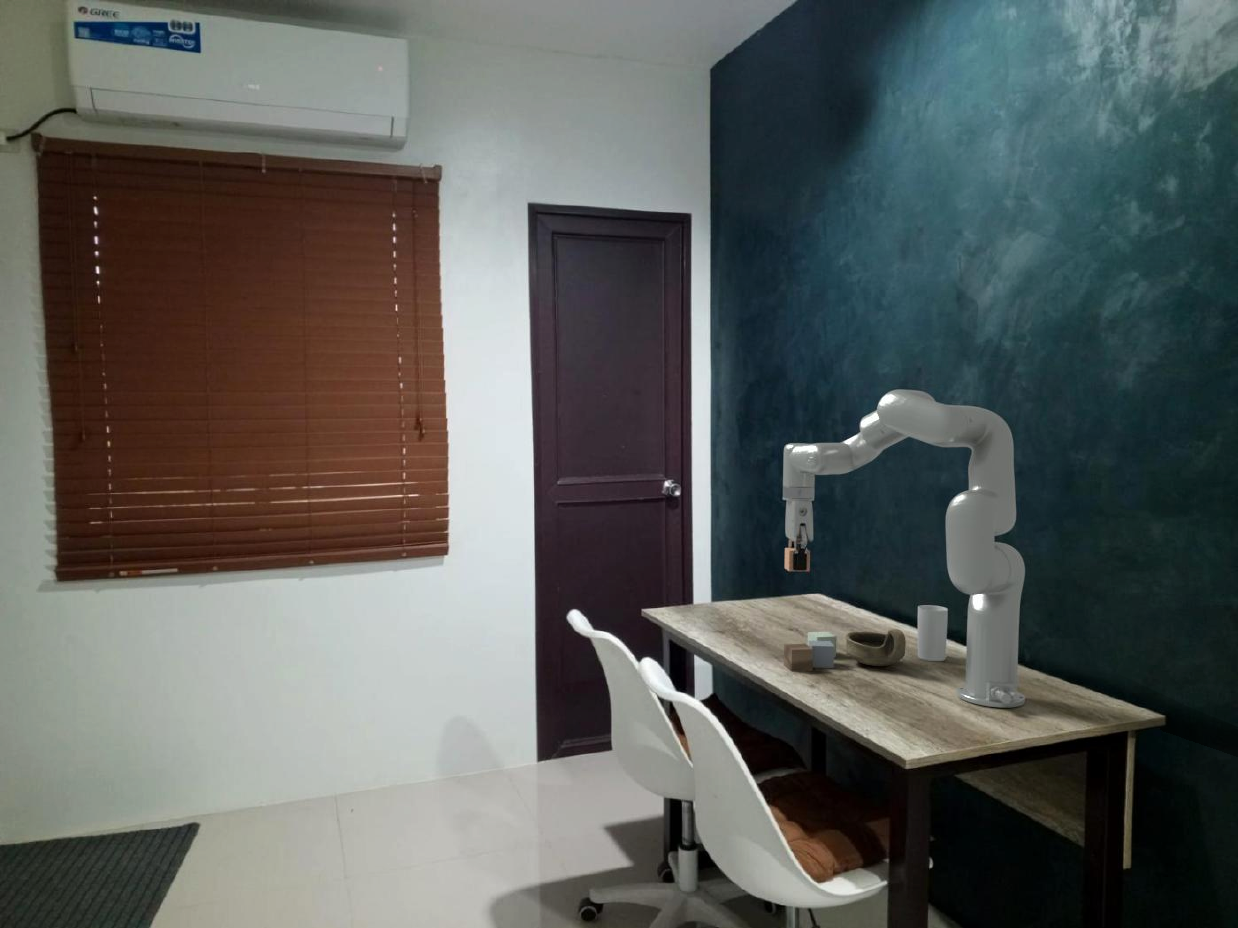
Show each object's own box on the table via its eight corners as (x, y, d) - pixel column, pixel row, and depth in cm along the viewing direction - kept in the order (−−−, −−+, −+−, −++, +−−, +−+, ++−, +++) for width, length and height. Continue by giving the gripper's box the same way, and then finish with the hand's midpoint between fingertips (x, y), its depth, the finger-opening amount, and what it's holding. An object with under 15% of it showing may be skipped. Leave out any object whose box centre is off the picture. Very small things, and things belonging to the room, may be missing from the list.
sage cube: (836, 656, 206) (836, 636, 206) (816, 657, 205) (817, 637, 205) (826, 651, 211) (826, 631, 211) (807, 652, 210) (807, 632, 210)
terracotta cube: (809, 571, 209) (810, 550, 208) (788, 571, 208) (789, 550, 208) (804, 568, 214) (805, 548, 213) (784, 567, 213) (784, 547, 213)
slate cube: (833, 668, 196) (834, 646, 196) (811, 667, 197) (811, 645, 196) (830, 662, 201) (830, 641, 201) (808, 661, 202) (808, 640, 201)
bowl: (883, 654, 208) (885, 613, 208) (927, 674, 191) (928, 630, 191) (832, 657, 205) (833, 616, 205) (872, 678, 188) (873, 633, 188)
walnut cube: (812, 670, 194) (813, 648, 193) (791, 671, 193) (791, 649, 193) (804, 664, 199) (804, 643, 198) (783, 665, 198) (784, 643, 198)
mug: (951, 661, 203) (953, 610, 203) (924, 662, 202) (926, 611, 202) (931, 650, 213) (932, 602, 213) (905, 651, 212) (906, 602, 212)
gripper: (822, 496, 202) (821, 574, 203) (805, 491, 219) (804, 563, 220) (790, 496, 202) (789, 573, 202) (775, 491, 219) (774, 562, 219)
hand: (797, 567), depth 211 cm, fingers closed on terracotta cube, 5 cm apart
